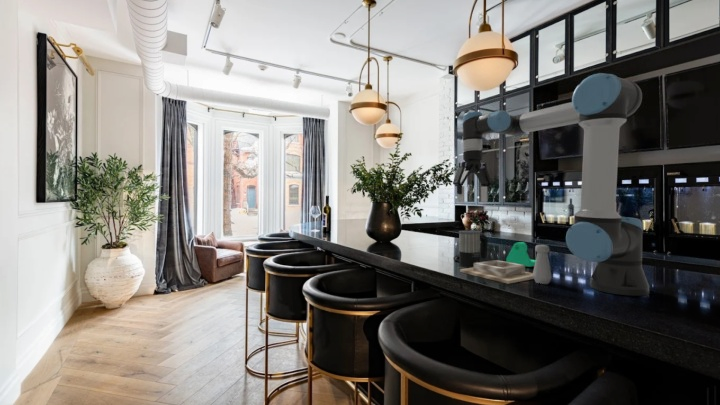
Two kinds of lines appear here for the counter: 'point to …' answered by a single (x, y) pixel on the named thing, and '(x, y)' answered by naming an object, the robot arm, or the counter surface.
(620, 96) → the robot arm
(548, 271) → the salt shaker
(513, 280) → the socket holder
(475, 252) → the milk frother
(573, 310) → the counter surface
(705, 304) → the counter surface
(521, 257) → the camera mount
